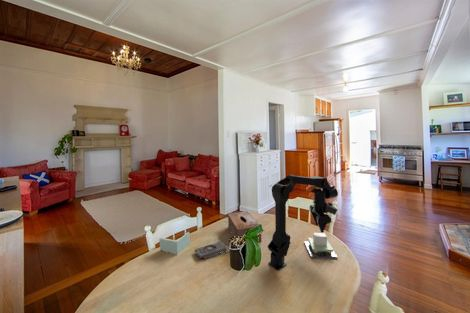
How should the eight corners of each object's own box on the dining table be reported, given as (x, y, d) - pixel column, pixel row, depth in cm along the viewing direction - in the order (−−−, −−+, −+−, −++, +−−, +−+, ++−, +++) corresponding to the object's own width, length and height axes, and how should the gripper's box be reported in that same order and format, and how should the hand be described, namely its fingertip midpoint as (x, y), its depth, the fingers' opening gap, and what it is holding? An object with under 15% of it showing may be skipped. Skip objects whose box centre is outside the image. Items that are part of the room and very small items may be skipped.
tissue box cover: (261, 242, 128) (261, 225, 127) (238, 245, 124) (237, 229, 123) (248, 224, 153) (247, 211, 152) (228, 227, 149) (227, 213, 148)
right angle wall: (190, 244, 128) (189, 232, 127) (177, 254, 117) (176, 241, 116) (173, 241, 132) (173, 229, 131) (160, 251, 121) (159, 238, 120)
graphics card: (219, 237, 128) (228, 246, 117) (219, 243, 128) (229, 252, 118) (192, 246, 120) (199, 255, 109) (192, 252, 120) (200, 262, 110)
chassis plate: (337, 258, 108) (337, 253, 108) (311, 258, 109) (311, 252, 109) (327, 243, 123) (327, 238, 123) (304, 243, 124) (304, 238, 124)
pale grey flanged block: (333, 251, 109) (333, 240, 108) (312, 250, 110) (313, 239, 110) (326, 240, 121) (326, 229, 120) (308, 239, 122) (308, 229, 122)
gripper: (342, 206, 103) (342, 237, 105) (329, 195, 122) (329, 221, 123) (318, 206, 104) (318, 236, 106) (309, 195, 123) (309, 221, 124)
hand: (319, 228), depth 115 cm, fingers open, 9 cm apart
